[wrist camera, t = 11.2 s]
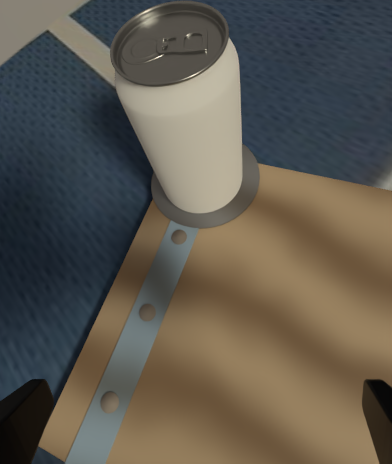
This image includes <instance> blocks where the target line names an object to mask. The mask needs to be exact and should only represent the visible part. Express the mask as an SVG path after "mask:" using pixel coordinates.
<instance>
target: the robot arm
mask: <svg viewBox="0 0 392 464" xmlns="http://www.w3.org/2000/svg"><path fill="white" fill-rule="evenodd" d="M53 405H54V398H53V395H52V393H51V390H50V388H49V385H48V383H47V381H46V380H45V379H32V380H30V381H28V382H27V383H25V384H24V385H23V386H21V387H20V388H18V389H17V390H16V391H14V392H13V393H11V394H10V395H9V396H7V397H6V398H4V399H3V400H1V401H0V464H31V463H32V460H33V458H34V455H35V453H36V450H37V448H38V445H39V442H40V440H41V437H42V435H43V432H44V429H45V427H46V424H47V422H48V419H49V416H50V414H51V411H52V409H53ZM362 409H363V413H364V416H365V419H366V422H367V426H368V429H369V432H370V435H371V438H372V442H373V445H374V448H375V451H376V454H377V458H378V461H379V464H392V387H391V386H390V385H388V384H387V383H386V382H385V381H383V380H381V379H365V380H364V383H363V393H362Z"/></svg>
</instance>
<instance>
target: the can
mask: <svg viewBox="0 0 392 464" xmlns="http://www.w3.org/2000/svg"><path fill="white" fill-rule="evenodd" d="M110 57H111V62H112V65H113V67H114V68H115V87H116V91H117V94H118V97H119V99H120V101H121V104H122V106H123V108H124V110H125V112H126V114H127V116H128V119H129V121H130V123H131V125H132V127H133V129H134V131H135V133H136V135H137V137H138V139H139V141H140V143H141V145H142V147H143V150H144V152H145V154H146V156H147V158H148V160H149V162H150V164H151V166H152V168H153V170H154V172H155V174H156V176H157V178H158V180H159V182H160V184H161V186H162V188H163V190H164V192H165V194H166V196H167V197H168V199H169V200H170V201H171V202H172V203H173V204H174V205H175V206H176V207H178V208H179V209H181V210H184V211H187V212H190V213H208V212H212V211H215V210H218V209H220V208H222V207H224V206H225V205H227V204H228V203H229V202H230V201H231V200H232V199H233V198H234V197H235V196H236V194H237V193H238V191H239V189H240V186H241V183H242V132H241V99H240V73H239V61H238V55H237V52H236V49H235V47H234V45H233V43H232V42H231V40H230V38H229V29H228V25H227V22H226V20H225V18H224V17H223V16H222V14H221V13H220V12H218V11H217V10H216V9H214V8H213V7H211V6H209V5H206V4H203V3H199V2H193V1H175V2H168V3H164V4H160V5H157V6H154V7H151V8H149V9H146V10H144V11H142V12H141V13H139V14H137V15H136V16H134V17H133V18H131V19H130V20H129V21H128V22H127V23H125V24H124V25H123V26H122V28H121V29H120V30H119V31H118V33H117V34H116V36H115V38H114V40H113V42H112V45H111V50H110Z"/></svg>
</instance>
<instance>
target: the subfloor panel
mask: <svg viewBox="0 0 392 464" xmlns="http://www.w3.org/2000/svg"><path fill="white" fill-rule="evenodd" d="M151 191H152V196H153V200H152V202H151V204H150V206H149V208H148V210H147V212H146V215H145V217H144V219H143V221H142V223H141V225H140V227H139V230H138V232H137V234H136V236H135V238H134V240H133V242H132V244H131V247H130V249H129V251H128V253H127V255H126V257H125V259H124V261H123V264H122V266H121V268H120V270H119V272H118V274H117V276H116V278H115V281H114V283H113V285H112V287H111V289H110V291H109V293H108V295H107V298H106V300H105V302H104V304H103V306H102V308H101V310H100V312H99V315H98V317H97V319H96V321H95V323H94V325H93V327H92V329H91V332H90V334H89V336H88V338H87V340H86V342H85V344H84V346H83V349H82V351H81V353H80V355H79V357H78V359H77V361H76V363H75V366H74V368H73V370H72V372H71V374H70V376H69V378H68V380H67V383H66V385H65V387H64V389H63V391H62V393H61V395H60V398H59V400H58V402H57V404H56V406H55V408H54V410H53V412H52V415H51V417H50V419H49V421H48V423H47V425H46V427H45V429H44V432H43V435H42V437H41V440H40V442H39V445H38V446H39V447H41V448H43V449H44V450H46V451H48V452H49V453H51V454H52V455H54V456H56V457H57V458H59V459H61V460H62V461H64V462H65V463H66V464H379V461H378V458H377V454H376V451H375V448H374V445H373V442H372V438H371V435H370V432H369V429H368V426H367V422H366V419H365V416H364V413H363V409H362V393H363V383H364V380H365V379H381V380H383V381H385V382H386V383H387V384H388V385H390V386H391V387H392V191H390V190H385V189H380V188H375V187H370V186H365V185H360V184H355V183H350V182H346V181H341V180H336V179H331V178H326V177H321V176H316V175H311V174H306V173H302V172H297V171H292V170H287V169H282V168H277V167H272V166H267V165H262V164H258V163H257V161H256V159H255V157H254V155H253V154H252V152H251V151H250V150H249V149H248V148H247V147H246V146H245V145H244V144H242V183H241V186H240V189H239V191H238V193H237V194H236V196H235V197H234V198H233V199H232V200H231V201H230V202H229V203H228V204H227V205H225V206H224V207H222V208H220V209H218V210H215V211H212V212H208V213H190V212H187V211H184V210H181V209H179V208H178V207H176V206H175V205H174V204H173V203H172V202H171V201H170V200H169V199H168V197H167V196H166V194H165V192H164V190H163V188H162V186H161V184H160V182H159V180H158V178H157V176H156V174H155V172H153V176H152V181H151Z"/></svg>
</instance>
